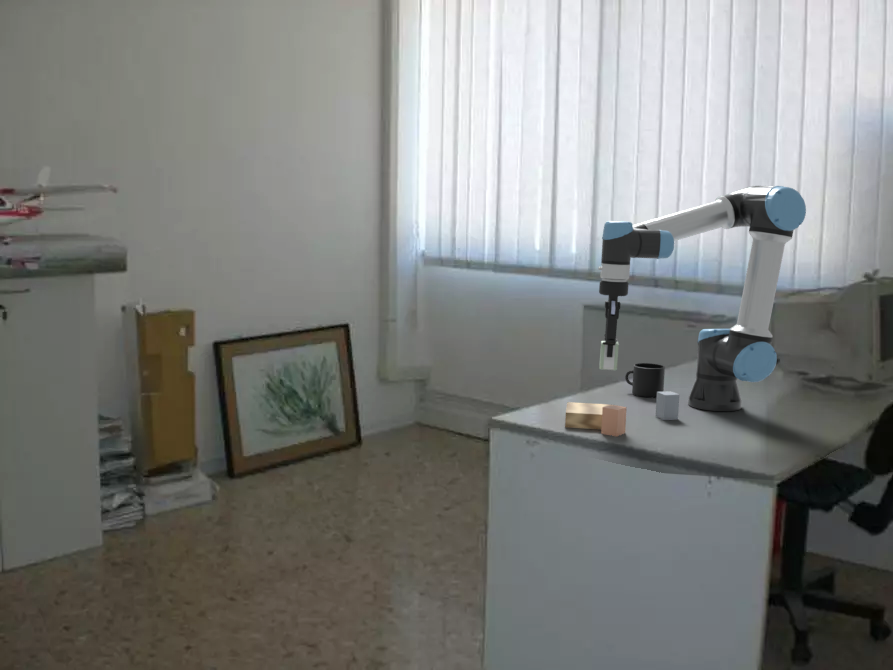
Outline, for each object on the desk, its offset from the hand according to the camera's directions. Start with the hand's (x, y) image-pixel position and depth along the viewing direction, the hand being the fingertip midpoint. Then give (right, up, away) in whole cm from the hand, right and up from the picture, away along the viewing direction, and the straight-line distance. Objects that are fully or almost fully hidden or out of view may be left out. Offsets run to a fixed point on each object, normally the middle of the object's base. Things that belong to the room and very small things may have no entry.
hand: (608, 367), depth 273 cm
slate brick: (+18, -14, +12) cm, 26 cm away
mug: (+18, -10, +43) cm, 47 cm away
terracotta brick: (0, -17, -8) cm, 19 cm away
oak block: (-4, -15, +3) cm, 16 cm away
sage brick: (0, 0, 0) cm, 0 cm away
